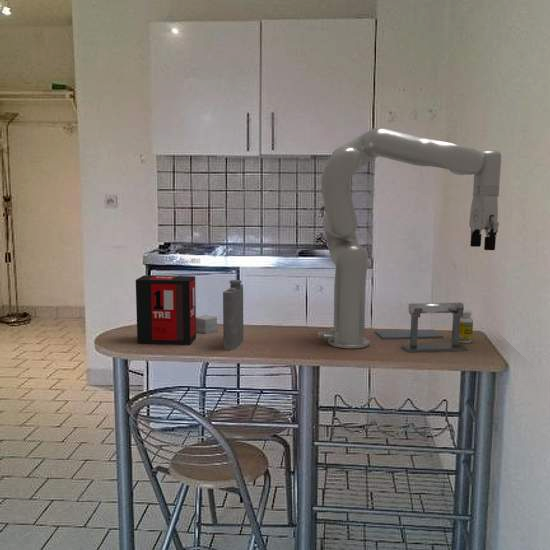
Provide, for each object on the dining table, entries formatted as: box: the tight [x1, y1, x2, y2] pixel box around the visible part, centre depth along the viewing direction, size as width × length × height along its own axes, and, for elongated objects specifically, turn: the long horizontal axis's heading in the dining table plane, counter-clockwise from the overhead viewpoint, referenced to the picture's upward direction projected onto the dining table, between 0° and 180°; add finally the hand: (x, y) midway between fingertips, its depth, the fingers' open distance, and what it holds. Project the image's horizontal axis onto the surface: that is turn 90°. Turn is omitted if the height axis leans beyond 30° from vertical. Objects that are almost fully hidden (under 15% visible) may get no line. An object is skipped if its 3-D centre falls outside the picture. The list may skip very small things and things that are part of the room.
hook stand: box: [401, 307, 468, 353], centre depth 192 cm, size 18×6×13 cm, turn 96°
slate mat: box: [374, 329, 444, 340], centre depth 210 cm, size 20×9×1 cm, turn 96°
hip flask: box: [222, 279, 244, 352], centre depth 196 cm, size 16×4×20 cm, turn 170°
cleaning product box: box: [135, 275, 197, 346], centre depth 200 cm, size 16×9×20 cm, turn 85°
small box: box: [196, 314, 218, 335], centre depth 214 cm, size 6×6×5 cm
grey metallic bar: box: [407, 302, 465, 315], centre depth 192 cm, size 16×3×3 cm, turn 96°
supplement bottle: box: [459, 309, 474, 344], centre depth 202 cm, size 5×5×10 cm
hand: (482, 248), depth 197 cm, fingers open, 9 cm apart
